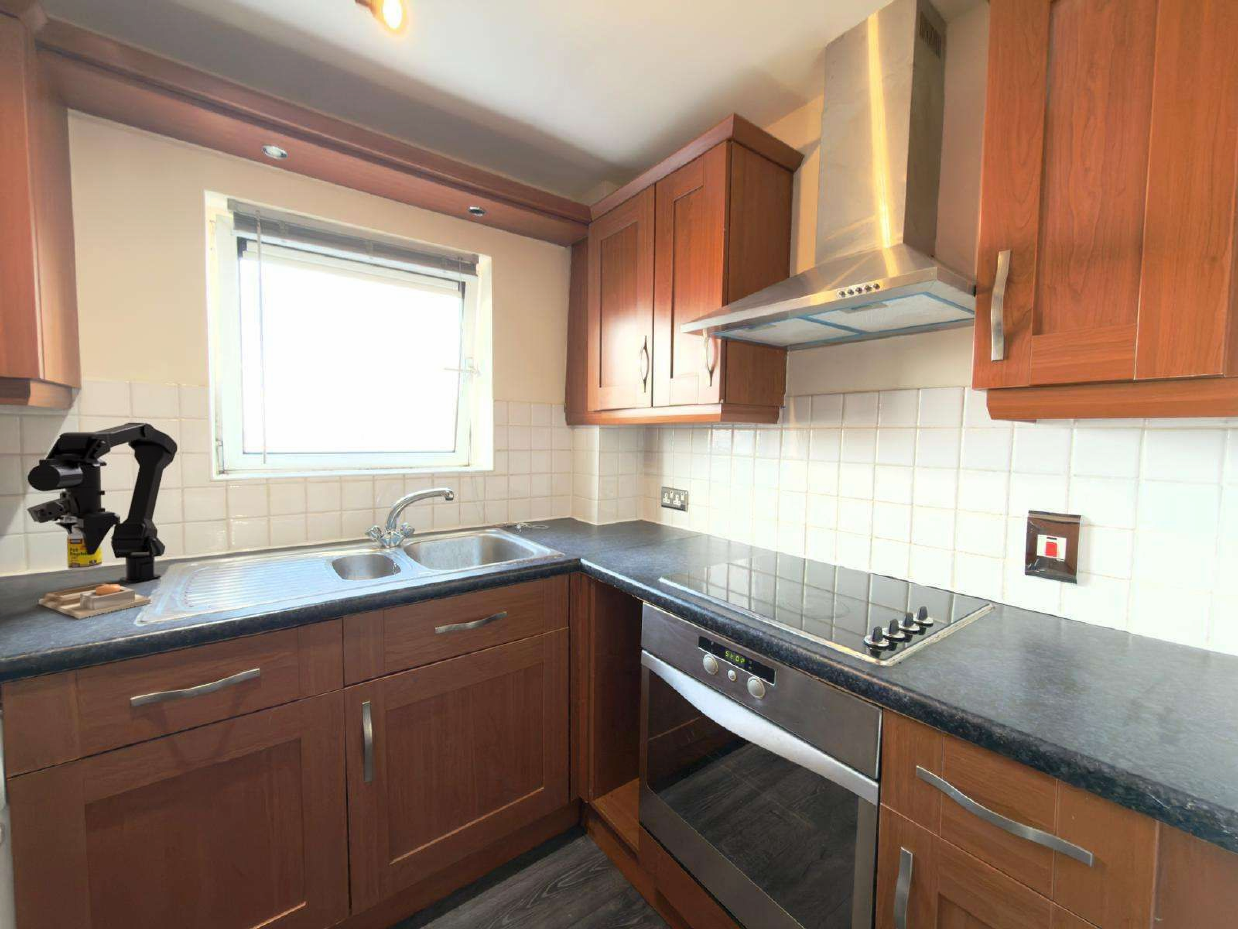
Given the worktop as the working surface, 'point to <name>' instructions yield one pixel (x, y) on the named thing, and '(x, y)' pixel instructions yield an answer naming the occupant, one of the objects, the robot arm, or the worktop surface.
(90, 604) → the pallet
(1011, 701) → the worktop surface
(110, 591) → the button
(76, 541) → the supplement bottle
